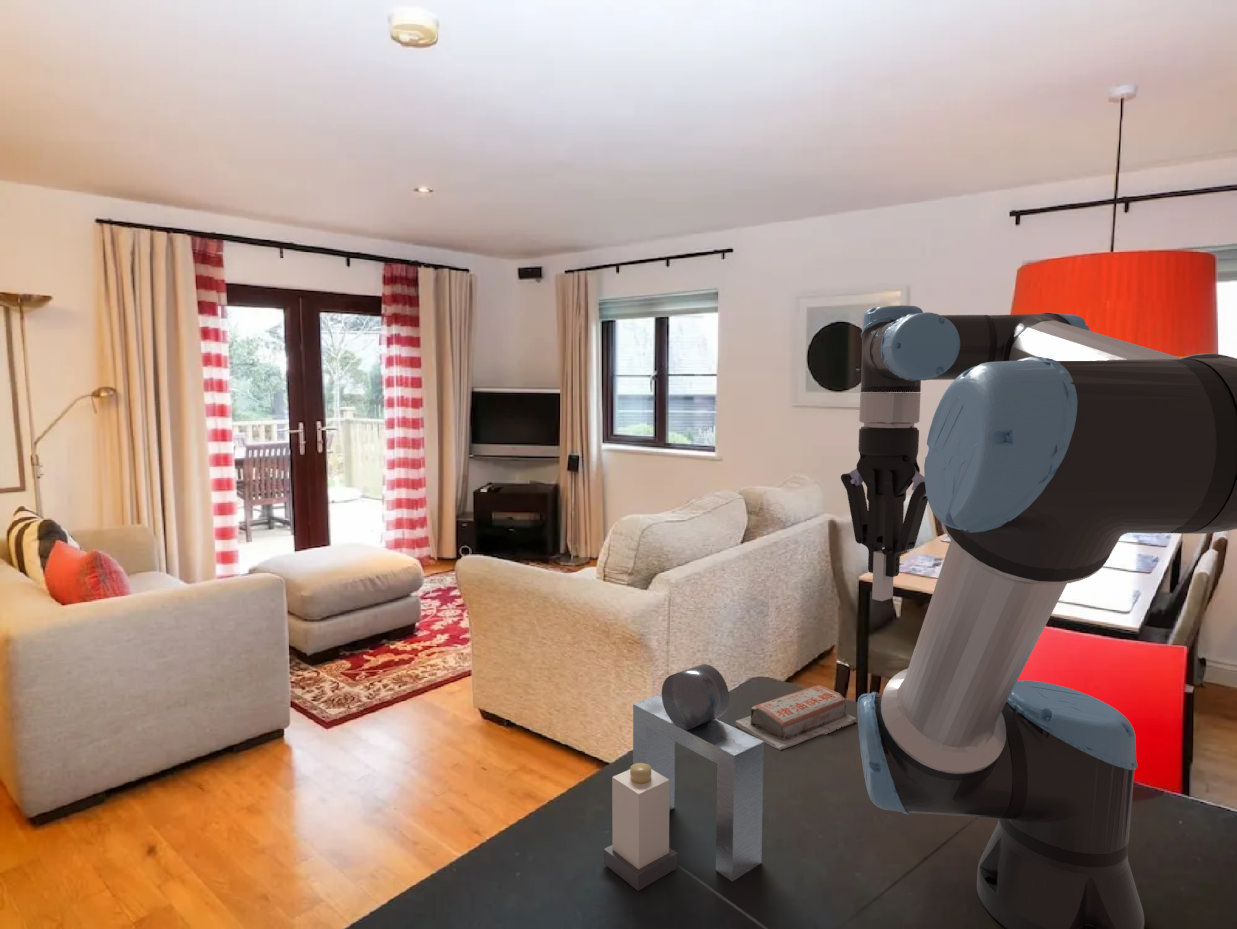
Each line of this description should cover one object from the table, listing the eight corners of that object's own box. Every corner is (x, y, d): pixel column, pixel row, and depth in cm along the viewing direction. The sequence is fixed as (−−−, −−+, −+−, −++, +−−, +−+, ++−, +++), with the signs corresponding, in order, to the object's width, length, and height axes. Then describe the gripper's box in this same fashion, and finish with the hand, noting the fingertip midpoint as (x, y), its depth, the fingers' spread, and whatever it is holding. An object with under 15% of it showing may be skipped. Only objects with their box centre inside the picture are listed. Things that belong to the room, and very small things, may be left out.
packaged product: (811, 677, 129) (857, 697, 121) (810, 703, 129) (856, 725, 121) (734, 701, 119) (780, 725, 111) (734, 730, 119) (779, 755, 111)
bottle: (677, 867, 84) (678, 770, 83) (638, 890, 80) (638, 788, 79) (642, 842, 89) (643, 749, 87) (603, 863, 85) (603, 766, 84)
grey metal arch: (761, 865, 85) (765, 687, 83) (732, 883, 82) (735, 699, 79) (661, 801, 98) (662, 646, 96) (633, 815, 95) (633, 655, 93)
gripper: (950, 426, 95) (942, 603, 97) (861, 422, 105) (855, 583, 107) (921, 428, 90) (913, 615, 93) (830, 424, 100) (825, 592, 103)
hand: (882, 598), depth 100 cm, fingers closed
